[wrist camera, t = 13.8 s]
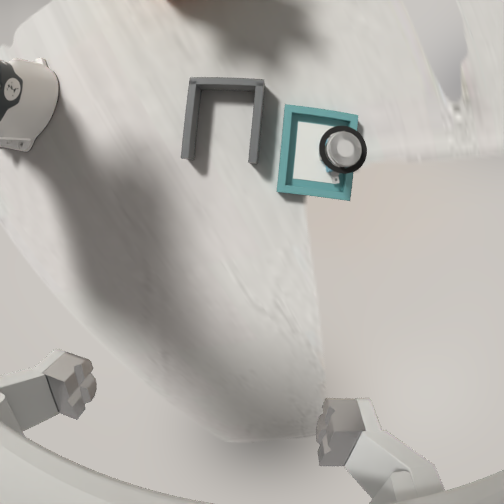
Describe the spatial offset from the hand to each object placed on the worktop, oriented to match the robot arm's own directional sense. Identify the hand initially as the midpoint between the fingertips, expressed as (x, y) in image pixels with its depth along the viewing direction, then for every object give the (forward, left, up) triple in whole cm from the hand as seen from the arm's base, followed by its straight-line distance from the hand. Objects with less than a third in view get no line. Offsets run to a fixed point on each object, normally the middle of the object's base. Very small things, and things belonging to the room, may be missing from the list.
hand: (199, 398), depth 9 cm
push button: (+9, +10, -35) cm, 37 cm away
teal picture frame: (+7, +11, -35) cm, 37 cm away
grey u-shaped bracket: (-6, +14, -35) cm, 38 cm away
